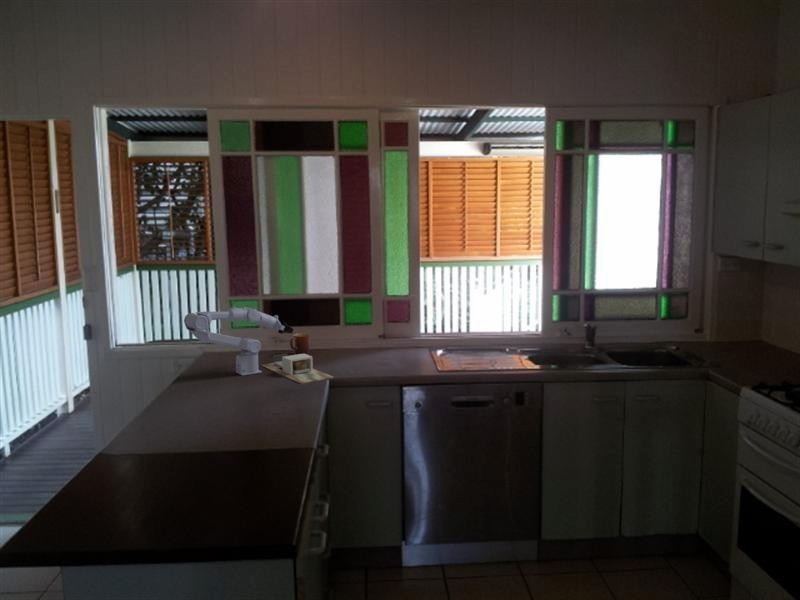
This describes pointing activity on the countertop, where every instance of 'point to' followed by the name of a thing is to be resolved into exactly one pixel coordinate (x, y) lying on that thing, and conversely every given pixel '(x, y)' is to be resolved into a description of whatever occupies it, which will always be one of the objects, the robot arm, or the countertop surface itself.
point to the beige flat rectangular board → (299, 374)
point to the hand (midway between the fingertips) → (288, 328)
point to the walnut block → (299, 365)
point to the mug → (300, 343)
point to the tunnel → (289, 359)
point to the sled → (278, 361)
